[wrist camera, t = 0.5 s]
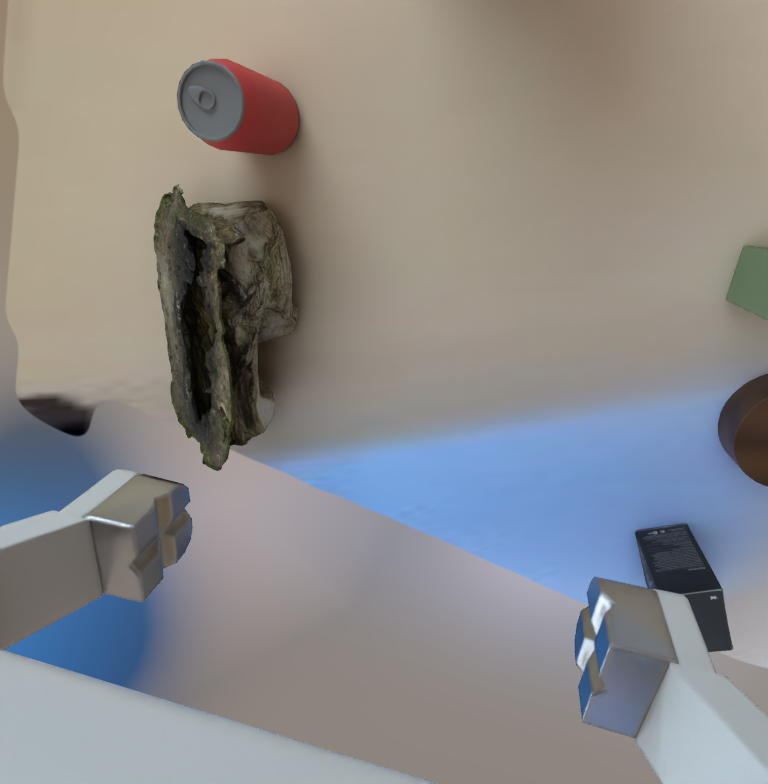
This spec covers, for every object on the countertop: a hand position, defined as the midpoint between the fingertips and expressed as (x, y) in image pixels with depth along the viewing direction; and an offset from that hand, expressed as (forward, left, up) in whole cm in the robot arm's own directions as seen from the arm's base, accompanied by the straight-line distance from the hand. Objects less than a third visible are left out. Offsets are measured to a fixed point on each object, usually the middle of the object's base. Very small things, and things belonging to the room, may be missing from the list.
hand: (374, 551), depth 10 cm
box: (+31, +27, -47) cm, 62 cm away
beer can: (-11, -21, -47) cm, 52 cm away
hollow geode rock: (+10, -24, -47) cm, 53 cm away
